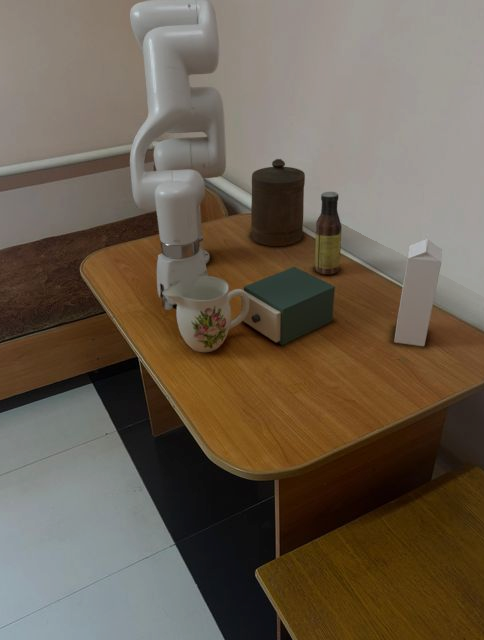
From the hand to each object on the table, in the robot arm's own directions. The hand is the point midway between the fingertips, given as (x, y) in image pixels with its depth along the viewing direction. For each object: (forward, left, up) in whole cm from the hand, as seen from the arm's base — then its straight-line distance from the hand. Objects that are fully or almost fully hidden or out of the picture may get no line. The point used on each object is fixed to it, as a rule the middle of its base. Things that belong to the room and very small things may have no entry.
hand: (187, 325), depth 116 cm
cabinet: (+11, +19, -1) cm, 22 cm away
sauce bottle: (-1, +43, -2) cm, 43 cm away
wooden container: (-26, +48, -2) cm, 54 cm away
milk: (+32, +34, -2) cm, 47 cm away
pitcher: (+7, +1, -1) cm, 7 cm away
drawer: (+11, +17, 0) cm, 20 cm away
